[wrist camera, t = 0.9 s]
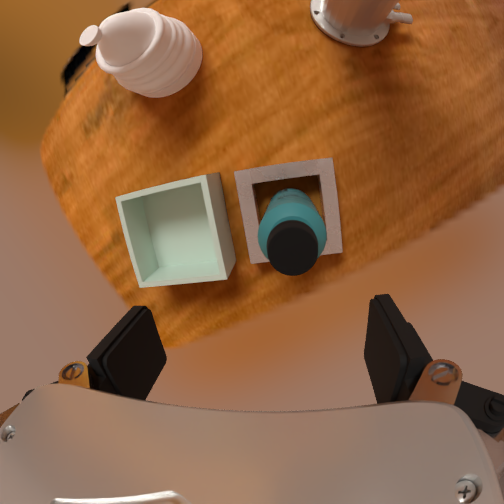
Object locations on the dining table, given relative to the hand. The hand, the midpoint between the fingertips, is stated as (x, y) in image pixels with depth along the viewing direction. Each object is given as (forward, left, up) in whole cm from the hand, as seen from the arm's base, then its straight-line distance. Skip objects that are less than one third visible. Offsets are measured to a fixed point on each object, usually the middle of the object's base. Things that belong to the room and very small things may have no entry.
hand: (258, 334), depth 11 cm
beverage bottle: (-2, 0, -30) cm, 30 cm away
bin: (+14, 0, -30) cm, 33 cm away
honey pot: (+13, -27, -30) cm, 43 cm away
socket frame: (-2, 0, -30) cm, 30 cm away
